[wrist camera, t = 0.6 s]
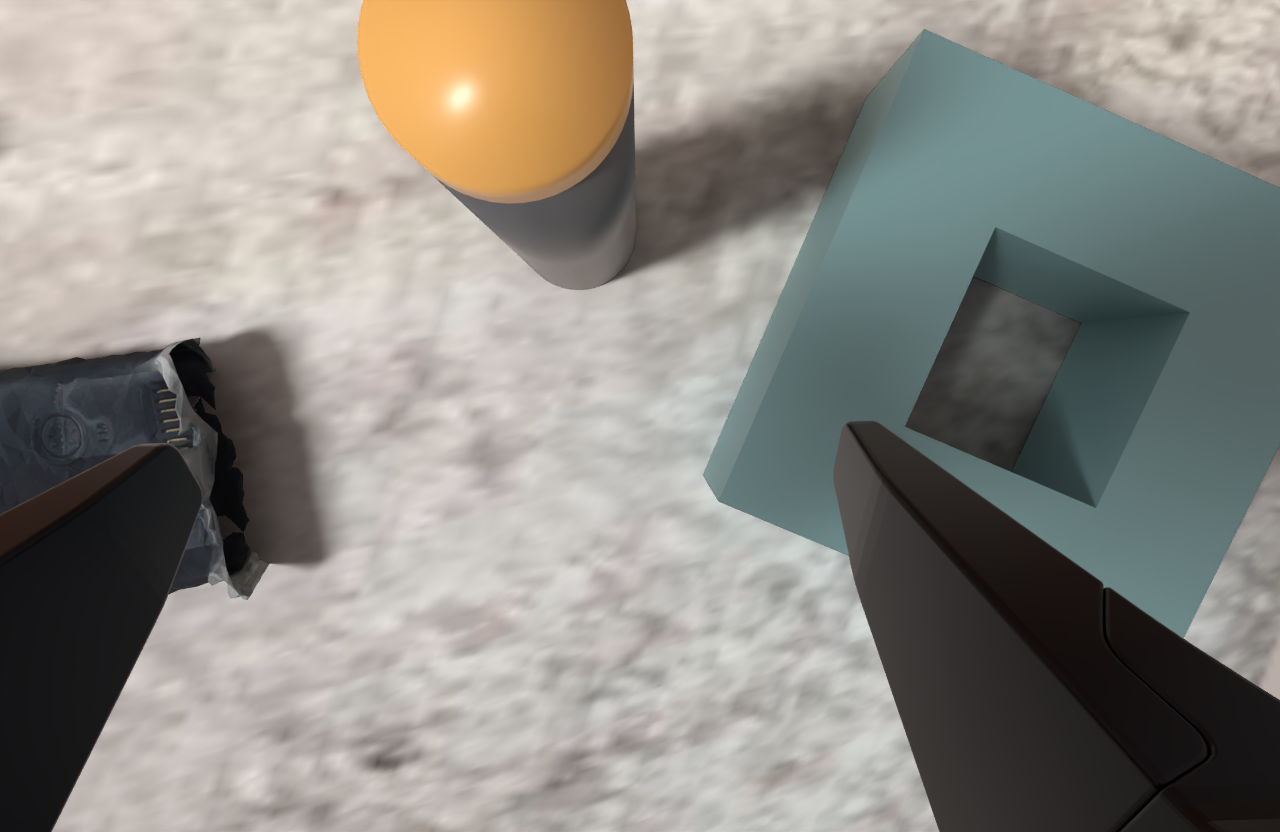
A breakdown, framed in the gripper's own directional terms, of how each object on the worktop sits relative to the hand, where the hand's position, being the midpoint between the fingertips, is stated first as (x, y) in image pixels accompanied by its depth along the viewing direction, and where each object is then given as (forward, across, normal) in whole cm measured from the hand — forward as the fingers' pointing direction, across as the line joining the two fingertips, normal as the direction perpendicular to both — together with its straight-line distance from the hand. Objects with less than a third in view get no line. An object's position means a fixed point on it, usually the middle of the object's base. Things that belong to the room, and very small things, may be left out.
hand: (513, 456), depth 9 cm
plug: (+15, 0, +3) cm, 15 cm away
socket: (+12, -13, +7) cm, 19 cm away
